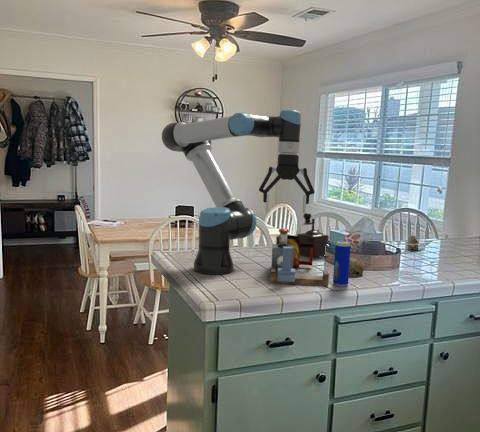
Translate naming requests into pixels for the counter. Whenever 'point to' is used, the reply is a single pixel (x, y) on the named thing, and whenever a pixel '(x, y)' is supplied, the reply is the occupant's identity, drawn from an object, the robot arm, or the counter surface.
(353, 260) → the bread roll
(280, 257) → the grey block
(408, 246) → the architectural model
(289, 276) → the carriage
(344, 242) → the beverage can
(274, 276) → the rail
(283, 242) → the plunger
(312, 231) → the manual coffee grinder
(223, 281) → the counter surface
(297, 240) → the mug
